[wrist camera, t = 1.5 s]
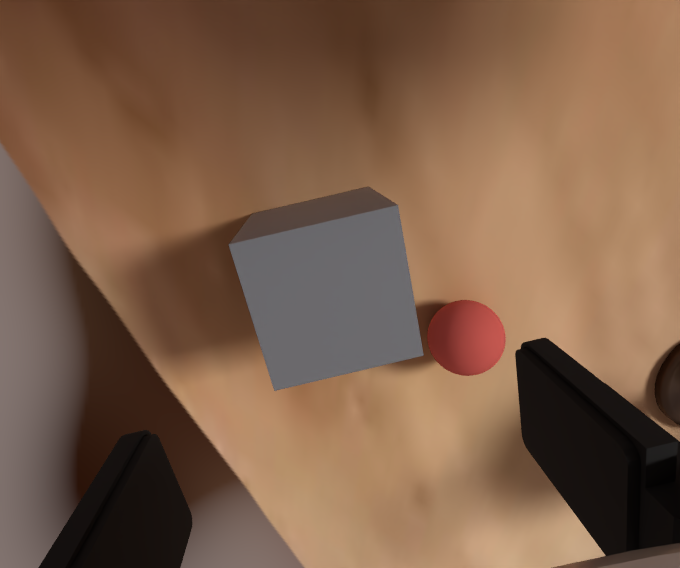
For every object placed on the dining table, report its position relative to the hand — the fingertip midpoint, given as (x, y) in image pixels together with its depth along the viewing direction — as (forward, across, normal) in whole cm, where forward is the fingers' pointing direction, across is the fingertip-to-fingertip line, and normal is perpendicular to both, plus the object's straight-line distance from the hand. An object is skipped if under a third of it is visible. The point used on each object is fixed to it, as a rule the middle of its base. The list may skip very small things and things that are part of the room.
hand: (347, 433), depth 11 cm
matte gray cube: (+18, 0, 0) cm, 18 cm away
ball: (+16, -8, +7) cm, 19 cm away
